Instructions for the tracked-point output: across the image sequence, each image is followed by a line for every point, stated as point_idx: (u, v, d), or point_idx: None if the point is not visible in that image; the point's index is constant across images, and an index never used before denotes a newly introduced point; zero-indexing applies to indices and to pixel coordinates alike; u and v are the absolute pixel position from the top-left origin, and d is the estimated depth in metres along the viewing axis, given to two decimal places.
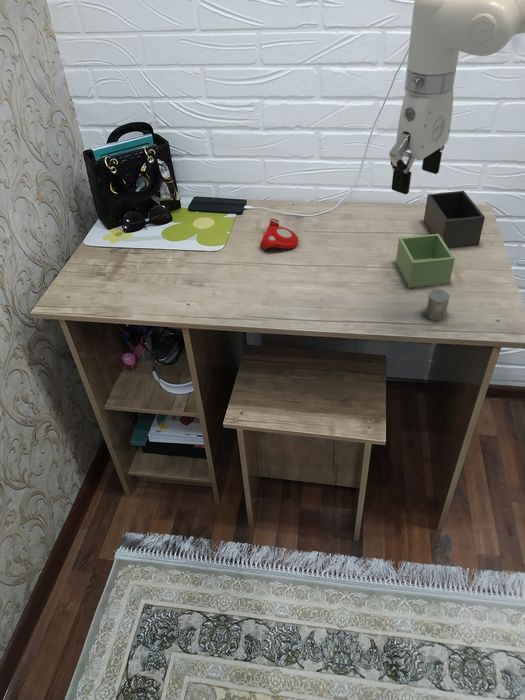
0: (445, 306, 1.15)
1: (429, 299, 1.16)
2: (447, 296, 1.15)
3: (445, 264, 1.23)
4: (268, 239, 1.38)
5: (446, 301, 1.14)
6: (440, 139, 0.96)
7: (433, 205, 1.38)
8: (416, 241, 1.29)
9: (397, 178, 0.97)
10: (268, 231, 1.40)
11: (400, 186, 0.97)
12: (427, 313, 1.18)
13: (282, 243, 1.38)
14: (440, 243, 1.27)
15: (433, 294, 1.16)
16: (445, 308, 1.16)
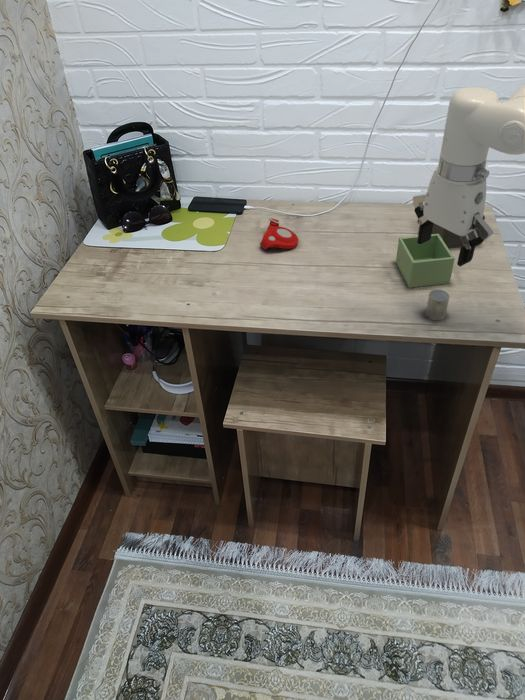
0: (445, 306, 1.15)
1: (429, 299, 1.16)
2: (447, 296, 1.15)
3: (445, 264, 1.23)
4: (268, 239, 1.38)
5: (446, 301, 1.14)
6: None
7: None
8: (416, 241, 1.29)
9: (470, 253, 1.03)
10: (268, 231, 1.40)
11: (471, 257, 1.04)
12: (427, 313, 1.18)
13: (282, 243, 1.38)
14: (440, 243, 1.27)
15: (433, 294, 1.16)
16: (445, 308, 1.16)
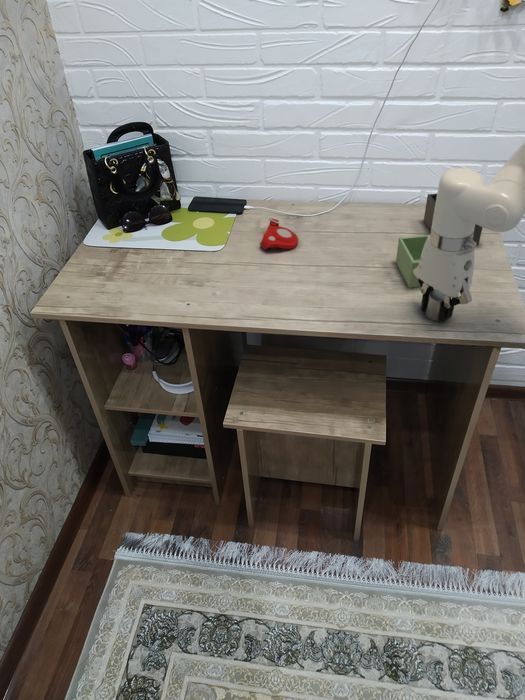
0: None
1: (429, 299, 1.16)
2: None
3: None
4: (268, 239, 1.38)
5: None
6: None
7: (433, 205, 1.38)
8: (416, 241, 1.29)
9: (450, 310, 1.14)
10: (268, 231, 1.40)
11: (451, 314, 1.16)
12: (427, 313, 1.18)
13: (282, 243, 1.38)
14: None
15: (433, 294, 1.16)
16: None
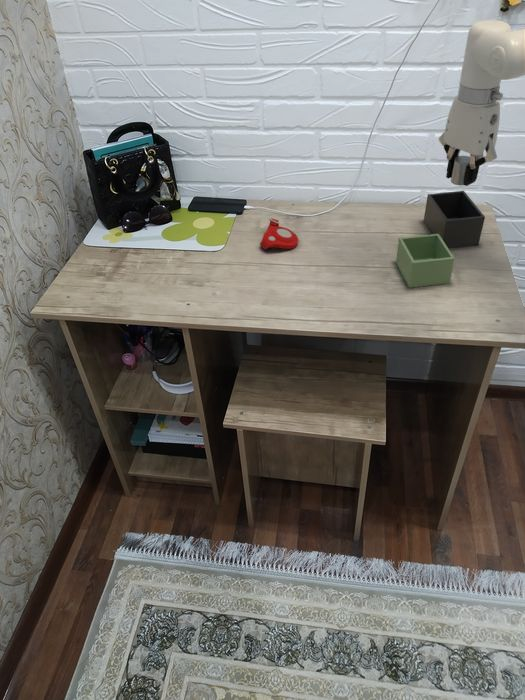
0: None
1: (455, 163, 1.22)
2: None
3: (445, 264, 1.23)
4: (268, 239, 1.38)
5: None
6: None
7: (433, 205, 1.38)
8: (416, 241, 1.29)
9: (475, 173, 1.21)
10: (268, 231, 1.40)
11: (476, 177, 1.22)
12: (452, 179, 1.24)
13: (282, 243, 1.38)
14: (440, 243, 1.27)
15: (458, 159, 1.22)
16: None
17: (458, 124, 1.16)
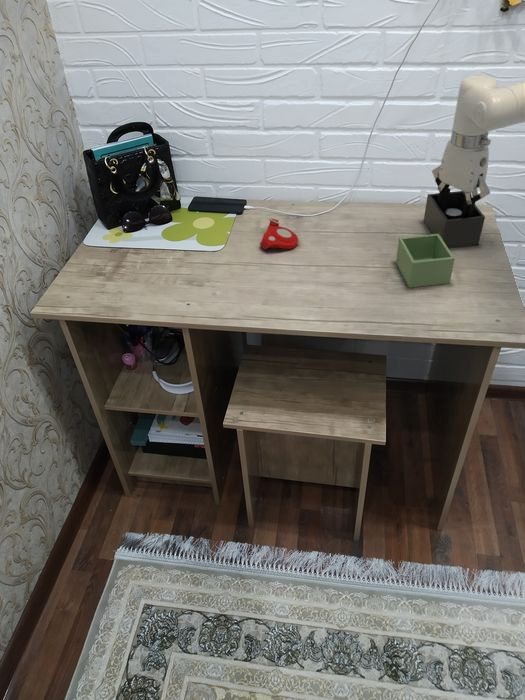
0: None
1: (445, 215, 1.38)
2: (460, 212, 1.37)
3: (445, 264, 1.23)
4: (268, 239, 1.38)
5: (459, 216, 1.37)
6: None
7: (433, 205, 1.38)
8: (416, 241, 1.29)
9: (471, 208, 1.33)
10: (268, 231, 1.40)
11: (472, 211, 1.34)
12: None
13: (282, 243, 1.38)
14: (440, 243, 1.27)
15: (448, 211, 1.38)
16: None
17: (451, 164, 1.29)
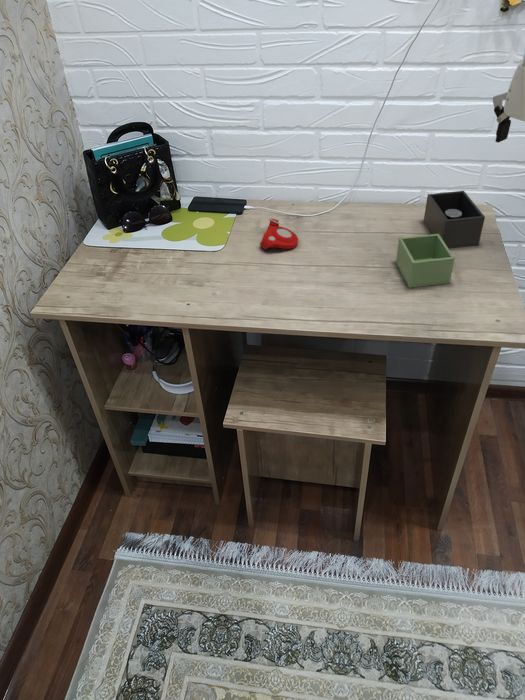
0: None
1: None
2: (460, 213, 1.37)
3: (445, 264, 1.23)
4: (268, 239, 1.38)
5: (459, 217, 1.37)
6: None
7: (433, 205, 1.38)
8: (416, 241, 1.29)
9: None
10: (268, 231, 1.40)
11: None
12: None
13: (282, 243, 1.38)
14: (440, 243, 1.27)
15: (448, 212, 1.38)
16: None
17: (521, 93, 1.12)
